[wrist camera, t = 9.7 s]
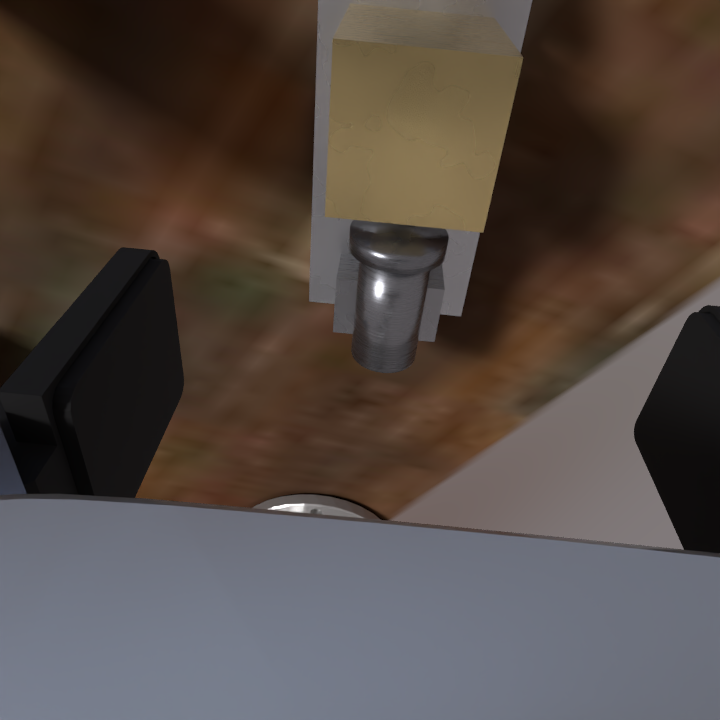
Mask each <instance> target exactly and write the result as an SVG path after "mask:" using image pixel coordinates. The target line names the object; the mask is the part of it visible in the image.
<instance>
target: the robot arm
mask: <svg viewBox="0 0 720 720" xmlns="http://www.w3.org/2000/svg"><path fill="white" fill-rule="evenodd" d="M183 386H184V376H183V368H182V360H181V352H180V344H179V336H178V329H177V321H176V313H175V305H174V297H173V290H172V282H171V274H170V267H169V264H168V261H167V260H163V259H159V256H158V254H157V252H156V251H154V250H144V249H134V248H120V249H119V250H118V251H117V252H116V254H115V255H114V256H113V257H112V258H111V259H110V261H109V262H108V263H107V264H106V265H105V266H104V268H103V269H102V270H101V271H100V272H99V273H98V275H97V276H96V277H95V278H94V279H93V281H92V282H91V283H90V284H89V285H88V286H87V288H86V289H85V290H84V291H83V292H82V293H81V295H80V296H79V297H78V298H77V299H76V300H75V302H74V303H73V304H72V305H71V306H70V307H69V309H68V310H67V311H66V312H65V313H64V315H63V316H62V317H61V318H60V319H59V320H58V321H57V322H56V324H55V325H54V326H53V327H52V328H51V329H50V331H49V332H48V333H47V334H46V335H45V336H44V338H43V339H42V340H41V341H40V342H39V343H38V345H37V346H36V347H35V348H34V349H33V350H32V352H31V353H30V354H29V355H28V356H27V357H26V359H25V360H24V361H23V362H22V363H21V365H20V366H19V367H18V368H17V369H16V370H15V372H14V373H13V374H12V375H11V376H10V377H9V379H8V380H7V381H6V382H5V383H4V384H3V386H2V387H1V388H0V720H720V306H710V305H708V306H705V307H703V308H702V309H701V310H700V311H699V312H694V313H692V314H691V315H690V316H689V317H688V319H687V320H686V322H685V324H684V326H683V328H682V330H681V332H680V334H679V336H678V338H677V340H676V342H675V344H674V346H673V348H672V350H671V352H670V355H669V357H668V358H667V360H666V363H665V364H664V366H663V368H662V371H661V372H660V374H659V376H658V379H657V381H656V382H655V384H654V387H653V388H652V391H651V393H650V395H649V397H648V399H647V401H646V403H645V405H644V407H643V409H642V411H641V413H640V415H639V417H638V419H637V421H636V423H635V428H634V437H635V441H636V444H637V446H638V448H639V450H640V453H641V455H642V457H643V459H644V462H645V464H646V466H647V468H648V470H649V473H650V475H651V477H652V479H653V481H654V484H655V486H656V488H657V490H658V493H659V495H660V497H661V499H662V501H663V504H664V506H665V508H666V510H667V512H668V515H669V517H670V519H671V521H672V523H673V526H674V528H675V530H676V533H677V535H678V537H679V539H680V541H681V544H682V546H683V548H684V550H681V549H670V548H662V547H652V546H642V545H632V544H623V543H613V542H603V541H593V540H582V539H573V538H563V537H553V536H542V535H533V534H522V533H512V532H501V531H492V530H482V529H471V528H459V527H450V526H440V525H429V524H419V523H409V522H398V521H388V520H381V519H379V518H378V517H377V516H376V515H375V514H373V513H371V512H370V511H368V510H366V509H364V508H363V507H361V506H359V505H356V504H354V503H351V502H349V501H346V500H342V499H338V498H334V497H330V496H322V495H311V494H297V495H289V496H282V497H278V498H274V499H271V500H267V501H265V502H263V503H261V504H258V505H256V506H255V507H253V508H246V507H235V506H224V505H213V504H202V503H190V502H178V501H167V500H155V499H143V498H135V496H136V494H137V492H138V489H139V487H140V485H141V483H142V481H143V478H144V476H145V474H146V472H147V470H148V468H149V465H150V463H151V461H152V459H153V457H154V455H155V452H156V450H157V448H158V446H159V444H160V441H161V439H162V437H163V435H164V433H165V431H166V428H167V426H168V424H169V422H170V420H171V418H172V415H173V413H174V411H175V409H176V407H177V405H178V402H179V400H180V398H181V395H182V392H183Z"/></svg>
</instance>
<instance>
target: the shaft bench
mask: <svg viewBox="0 0 720 720" xmlns="http://www.w3.org/2000/svg"><path fill="white" fill-rule="evenodd" d="M350 3H352V4H362V5H372V6H382V7H392V8H402V9H412V10H422V11H432V12H442V13H452V14H462V15H472V16H482V17H492V18H495V19H496V21H497V22H498V24H499V25H500V26H501V28H502V29H503V30H504V32H505V33H506V34H507V36H508V37H509V38H510V40H511V41H512V43H513V44H514V45H515V47H516V48H517V49H518V51H519V52H520V53H521V49H522V44H523V40H524V35H525V31H526V26H527V22H528V18H529V13H530V9H531V4H532V0H318V28H317V61H316V94H315V126H314V159H313V192H312V224H311V257H310V290H309V301H312V302H322V303H332V304H335V310H334V325H333V332H340V333H350V334H353V338H352V349H351V352H352V355H353V358H354V359H355V360H356V361H357V362H358V363H359V364H360V365H361V366H363V367H365V368H367V369H369V370H372V371H376V372H382V373H393V372H399V371H402V370H404V369H406V368H408V367H409V366H410V365H411V364H412V363H413V362H414V359H415V355H416V349H417V344H418V340H420V341H430V342H435V337H436V331H437V326H438V321H439V316H440V314H442V315H452V316H461V314H462V310H463V305H464V301H465V296H466V292H467V288H468V283H469V279H470V274H471V270H472V265H473V261H474V257H475V252H476V248H477V243H478V239H479V234H480V232H472V231H462V230H452V229H442V228H431V227H421V226H411V225H401V224H391V223H381V222H371V221H361V220H351V219H341V218H331V217H325V201H326V179H327V156H328V134H329V111H330V89H331V66H332V43H333V37H334V35H335V33H336V31H337V29H338V27H339V25H340V23H341V21H342V19H343V17H344V15H345V13H346V11H347V9H348V7H349V5H350Z"/></svg>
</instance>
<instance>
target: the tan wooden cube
mask: <svg viewBox="0 0 720 720" xmlns="http://www.w3.org/2000/svg"><path fill="white" fill-rule="evenodd" d="M522 62H523V56H522V55H521V53H520V52H519V51H518V49H517V48H516V47H515V45H514V44H513V43H512V41H511V40H510V38H509V37H508V36H507V34H506V33H505V32H504V30H503V29H502V28H501V26H500V25H499V24H498V22H497V21H496V19H495V18H492V17H482V16H472V15H462V14H452V13H442V12H432V11H422V10H412V9H402V8H392V7H382V6H372V5H362V4H352V3H350V5H349V7H348V9H347V11H346V13H345V15H344V17H343V19H342V21H341V23H340V25H339V27H338V29H337V31H336V33H335V35H334V37H333V43H332V66H331V89H330V111H329V134H328V156H327V179H326V201H325V217H331V218H341V219H351V220H361V221H371V222H381V223H391V224H401V225H411V226H421V227H431V228H442V229H452V230H462V231H472V232H482V233H483V232H484V228H485V223H486V219H487V215H488V210H489V206H490V202H491V197H492V193H493V188H494V184H495V180H496V175H497V171H498V167H499V162H500V158H501V154H502V149H503V145H504V140H505V136H506V132H507V127H508V123H509V119H510V114H511V110H512V105H513V101H514V97H515V92H516V88H517V84H518V79H519V75H520V70H521V66H522Z"/></svg>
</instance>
